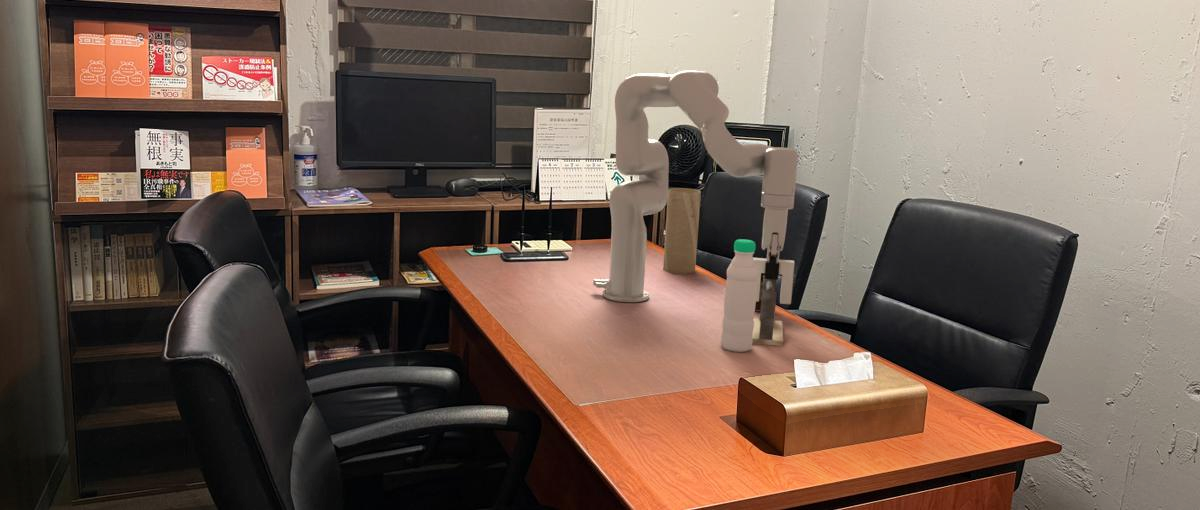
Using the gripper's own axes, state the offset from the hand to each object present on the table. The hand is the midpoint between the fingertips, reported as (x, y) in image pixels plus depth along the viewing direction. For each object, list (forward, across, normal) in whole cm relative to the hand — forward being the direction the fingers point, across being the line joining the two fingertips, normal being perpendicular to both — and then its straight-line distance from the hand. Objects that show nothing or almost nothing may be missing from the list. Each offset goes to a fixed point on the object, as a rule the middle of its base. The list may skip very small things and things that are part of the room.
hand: (771, 276), depth 208 cm
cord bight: (+6, 0, 0) cm, 6 cm away
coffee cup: (+14, -22, -2) cm, 27 cm away
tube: (+14, -60, -27) cm, 67 cm away
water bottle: (+14, +13, -7) cm, 21 cm away
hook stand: (+14, 0, 0) cm, 14 cm away
